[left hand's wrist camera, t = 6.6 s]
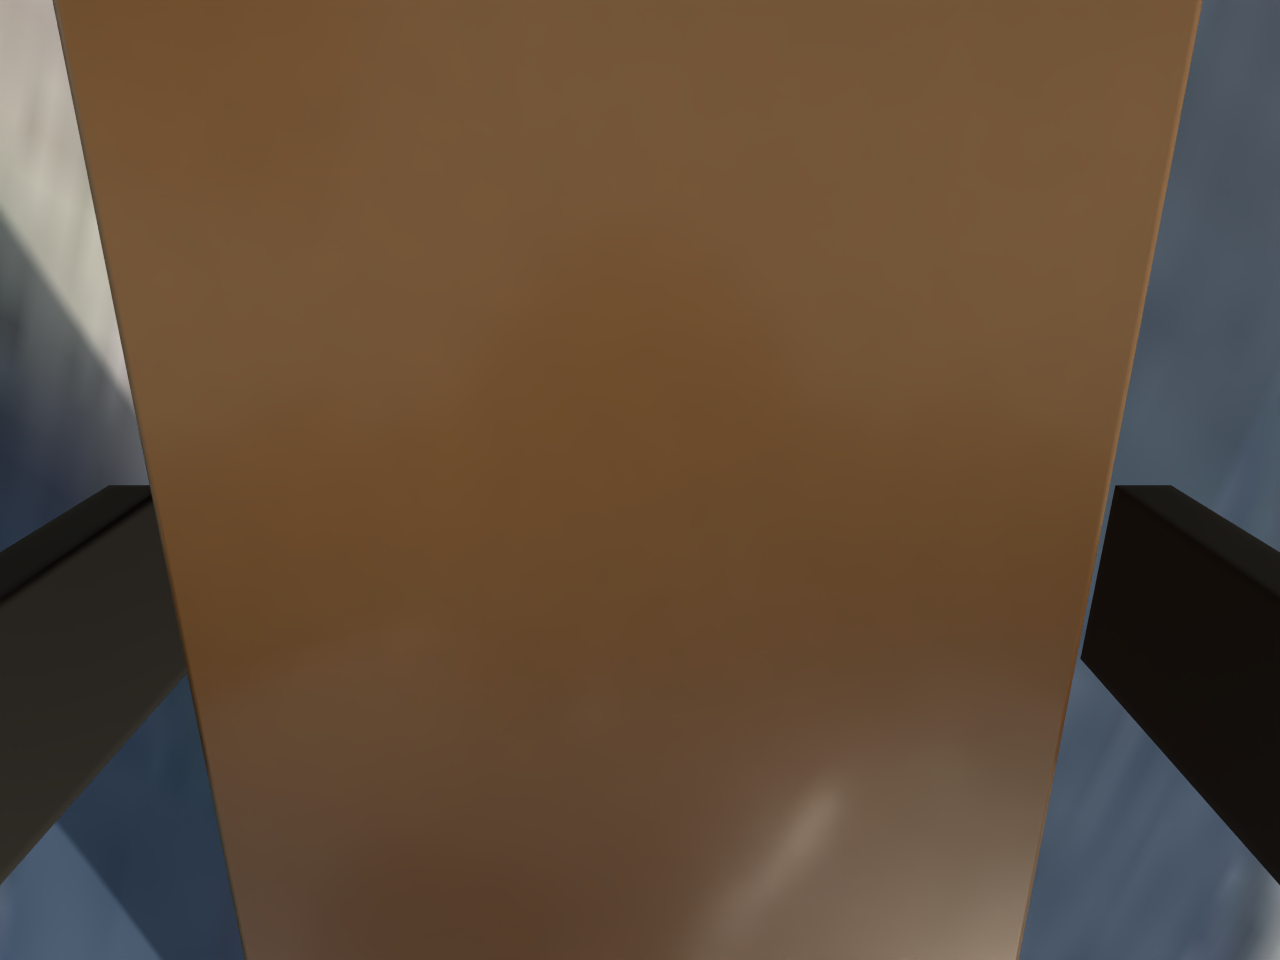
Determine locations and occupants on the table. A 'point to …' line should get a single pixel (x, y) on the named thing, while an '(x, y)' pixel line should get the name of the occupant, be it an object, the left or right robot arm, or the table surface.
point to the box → (629, 448)
